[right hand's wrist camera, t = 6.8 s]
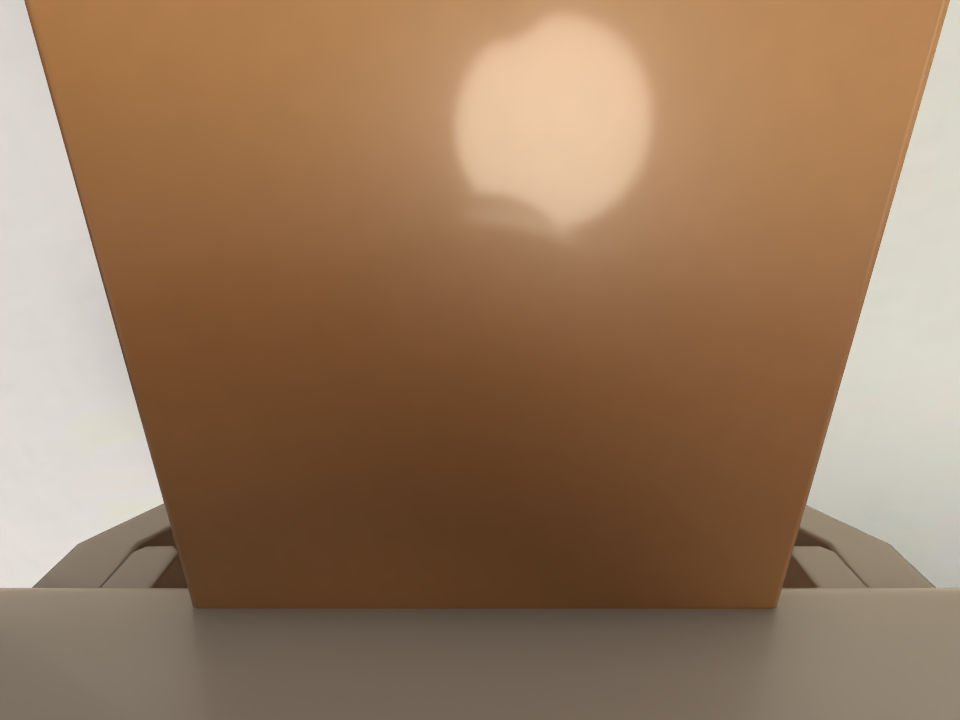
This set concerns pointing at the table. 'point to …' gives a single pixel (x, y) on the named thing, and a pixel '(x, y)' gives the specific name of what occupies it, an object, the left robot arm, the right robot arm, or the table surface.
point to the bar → (486, 281)
